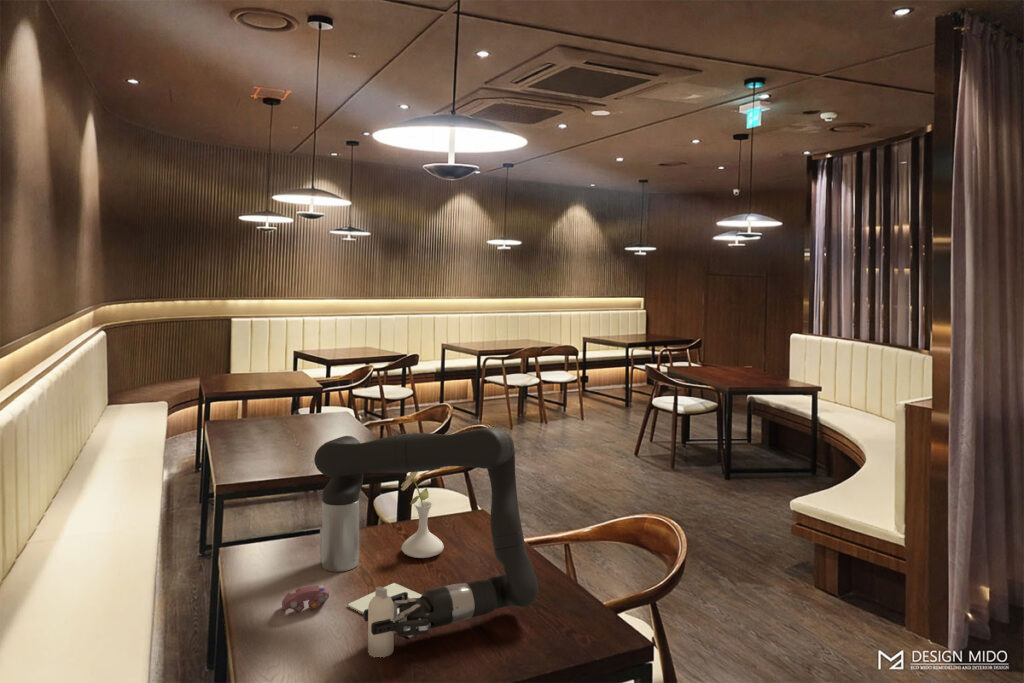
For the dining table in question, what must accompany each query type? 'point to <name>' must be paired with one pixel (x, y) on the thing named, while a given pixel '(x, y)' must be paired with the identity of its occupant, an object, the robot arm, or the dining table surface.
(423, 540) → the flower in vase
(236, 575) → the dining table surface
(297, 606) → the video game controller
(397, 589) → the cream flat board
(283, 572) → the dining table surface
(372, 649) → the bottle with rectangular cap
